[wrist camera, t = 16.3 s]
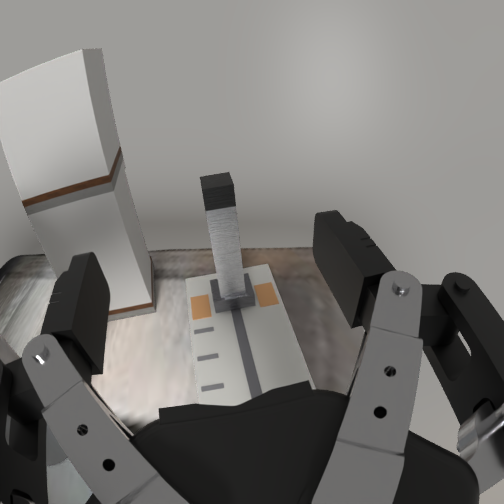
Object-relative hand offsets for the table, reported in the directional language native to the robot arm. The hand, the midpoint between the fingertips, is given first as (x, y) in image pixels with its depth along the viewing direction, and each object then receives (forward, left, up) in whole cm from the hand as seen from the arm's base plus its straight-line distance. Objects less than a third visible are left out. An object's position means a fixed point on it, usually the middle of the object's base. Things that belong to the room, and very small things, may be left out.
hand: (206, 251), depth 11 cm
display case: (-15, +28, -26) cm, 41 cm away
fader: (+2, +20, -23) cm, 31 cm away
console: (+2, +12, -26) cm, 29 cm away
